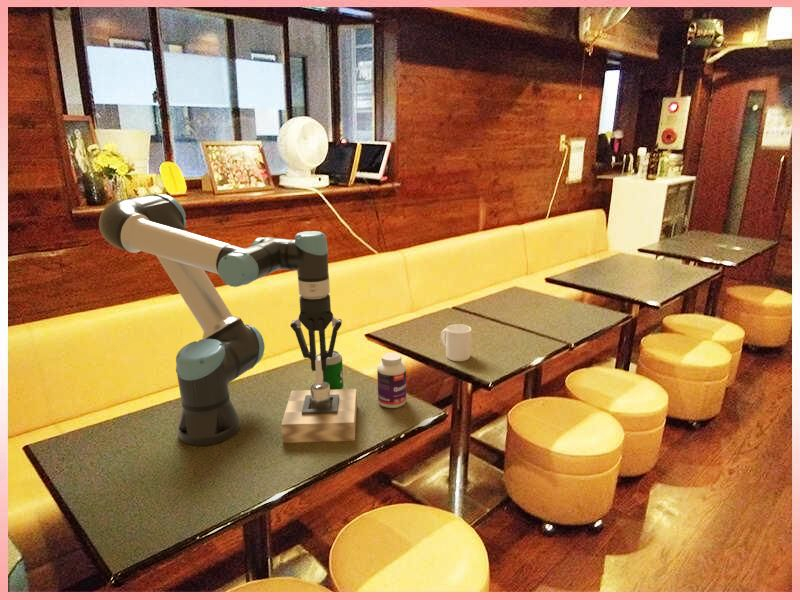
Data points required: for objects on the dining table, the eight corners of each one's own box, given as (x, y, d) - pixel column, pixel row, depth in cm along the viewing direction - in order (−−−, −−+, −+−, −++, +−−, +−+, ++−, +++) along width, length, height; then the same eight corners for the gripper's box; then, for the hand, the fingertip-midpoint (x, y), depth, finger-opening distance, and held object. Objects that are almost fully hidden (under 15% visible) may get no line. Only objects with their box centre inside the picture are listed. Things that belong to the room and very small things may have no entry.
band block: (282, 442, 140) (281, 421, 139) (292, 407, 158) (291, 388, 156) (354, 440, 141) (353, 419, 139) (356, 405, 158) (356, 386, 156)
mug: (432, 353, 192) (433, 325, 189) (448, 347, 198) (449, 319, 194) (459, 364, 184) (460, 335, 181) (475, 357, 189) (476, 328, 186)
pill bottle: (396, 412, 154) (395, 364, 150) (372, 405, 158) (371, 358, 154) (411, 400, 161) (411, 354, 156) (388, 393, 165) (387, 348, 160)
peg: (310, 410, 145) (309, 390, 143) (312, 400, 150) (311, 381, 148) (329, 409, 145) (328, 390, 144) (331, 400, 150) (330, 381, 148)
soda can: (339, 398, 162) (337, 360, 158) (314, 396, 164) (312, 358, 160) (346, 386, 169) (345, 350, 165) (322, 384, 171) (320, 348, 167)
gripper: (285, 300, 134) (292, 388, 142) (340, 298, 135) (344, 387, 142) (290, 290, 141) (296, 375, 149) (341, 289, 142) (345, 374, 149)
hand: (319, 381), depth 145 cm, fingers closed
